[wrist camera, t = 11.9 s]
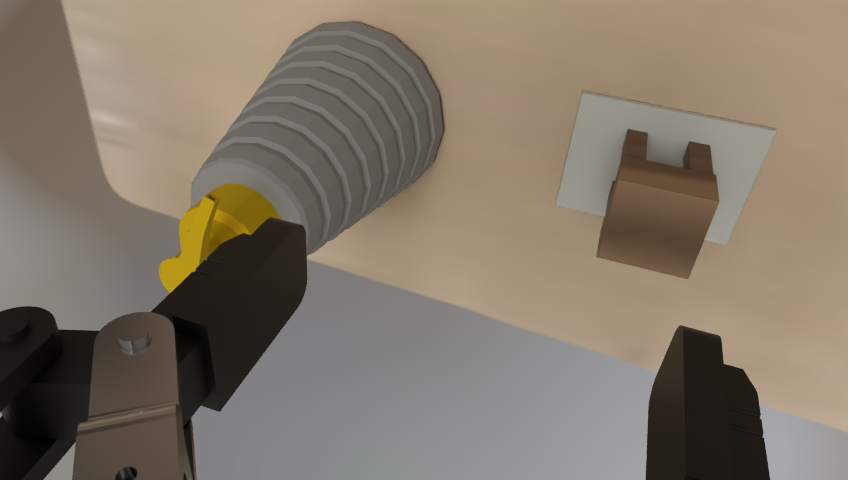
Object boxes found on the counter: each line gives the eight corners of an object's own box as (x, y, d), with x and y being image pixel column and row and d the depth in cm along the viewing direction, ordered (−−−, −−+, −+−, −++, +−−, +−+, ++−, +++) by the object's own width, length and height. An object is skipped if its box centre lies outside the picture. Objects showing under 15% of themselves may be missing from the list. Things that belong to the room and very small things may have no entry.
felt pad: (583, 90, 39) (582, 93, 39) (775, 128, 37) (776, 131, 36) (556, 202, 44) (555, 205, 43) (725, 242, 41) (726, 245, 41)
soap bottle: (478, 84, 41) (352, 265, 25) (400, 219, 48) (264, 425, 32) (310, -19, 41) (71, 95, 24) (258, 133, 48) (50, 296, 32)
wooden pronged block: (626, 126, 39) (618, 179, 33) (712, 144, 38) (719, 201, 32) (606, 197, 42) (596, 256, 36) (685, 215, 41) (688, 279, 35)
